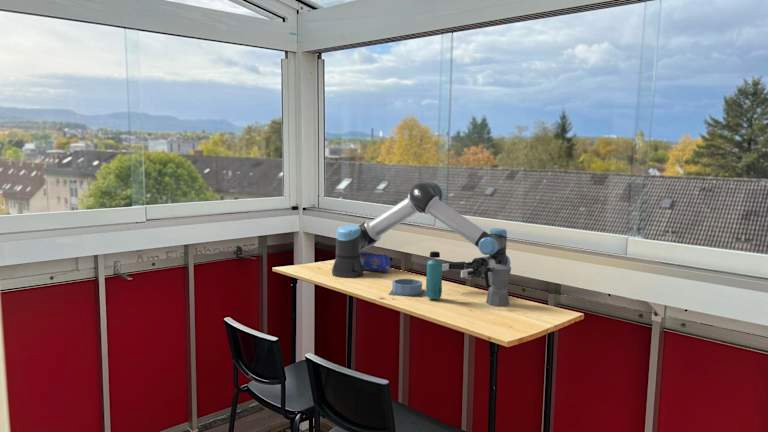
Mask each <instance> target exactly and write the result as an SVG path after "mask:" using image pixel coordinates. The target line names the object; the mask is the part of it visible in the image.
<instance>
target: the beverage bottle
mask: <svg viewBox="0 0 768 432" xmlns="http://www.w3.org/2000/svg"><path fill="white" fill-rule="evenodd" d="M440 253H441V252H440V251H430V253H429V258H433V259H429V260H428V261H427V262H426V279H425V280H426V281H425V296H426V298H428V299H434V300H435V299H441V297H442V295H443V291H442V290H443V288H442V287H443V271H442V264H443V262H442V261H441V260H440V259H438V258H440V257H441V254H440ZM436 258H437V259H436Z"/></svg>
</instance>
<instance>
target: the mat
mask: <svg viewBox="0 0 768 432" xmlns="http://www.w3.org/2000/svg"><path fill="white" fill-rule="evenodd" d="M425 292H426V288H425V289H424V288H422V293H421V294H420V295H415V296H407V297H409V298H411V297H412V298H422V297H423V295H424V294H425ZM388 296H397V297H404V296H403V295H397V294H394V293H393V290H392V289H391V290H390V292H389V293H388Z"/></svg>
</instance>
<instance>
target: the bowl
mask: <svg viewBox="0 0 768 432" xmlns="http://www.w3.org/2000/svg"><path fill="white" fill-rule="evenodd" d="M391 285H392V286H391V287H392V288H391V290H393V293H394V294H397V295H403V296H402V297H408V296H415V295H420V294H421V293H422V289H423V281H421V280H419V279H415V278H414V279H413V278H398V279H397V278H396V279H393V280H392V284H391Z"/></svg>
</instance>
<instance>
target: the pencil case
mask: <svg viewBox="0 0 768 432" xmlns="http://www.w3.org/2000/svg"><path fill="white" fill-rule="evenodd" d="M360 261H361V264H362V268H363V271H369V270H370V272H377V271H378V273H385V274H387V273H389V271H390V268H391V265H392V262H393V257H390V256H389V255H388V254H386V253H381V254H377V253H366V252H365V253H364V252H360Z"/></svg>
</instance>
